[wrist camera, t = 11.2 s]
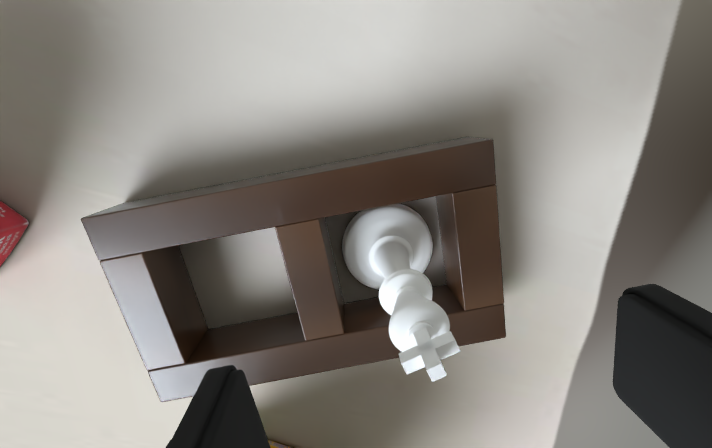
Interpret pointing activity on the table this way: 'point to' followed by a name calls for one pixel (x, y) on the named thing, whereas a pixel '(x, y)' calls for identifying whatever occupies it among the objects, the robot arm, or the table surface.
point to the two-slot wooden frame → (300, 264)
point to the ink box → (10, 230)
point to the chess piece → (401, 282)
